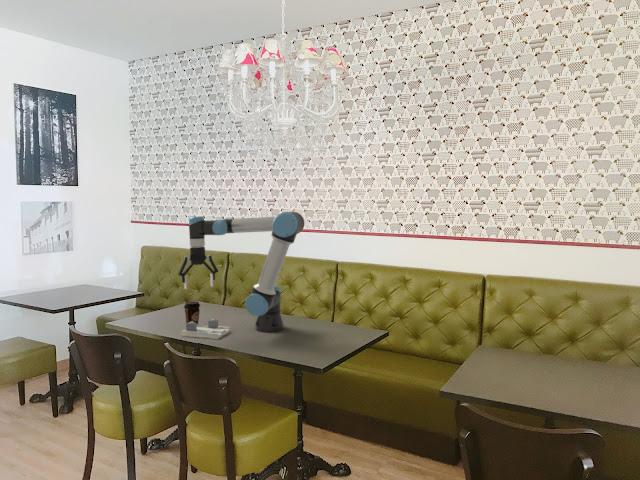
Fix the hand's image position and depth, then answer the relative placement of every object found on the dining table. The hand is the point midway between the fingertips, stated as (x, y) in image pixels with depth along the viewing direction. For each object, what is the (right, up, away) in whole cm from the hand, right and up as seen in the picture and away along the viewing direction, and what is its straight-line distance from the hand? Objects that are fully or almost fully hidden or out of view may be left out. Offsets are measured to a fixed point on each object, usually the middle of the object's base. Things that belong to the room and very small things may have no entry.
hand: (199, 287), depth 257 cm
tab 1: (-2, -22, -7) cm, 23 cm away
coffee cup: (-6, -22, +10) cm, 25 cm away
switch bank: (+5, -23, -5) cm, 24 cm away
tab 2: (+8, -21, -1) cm, 23 cm away
